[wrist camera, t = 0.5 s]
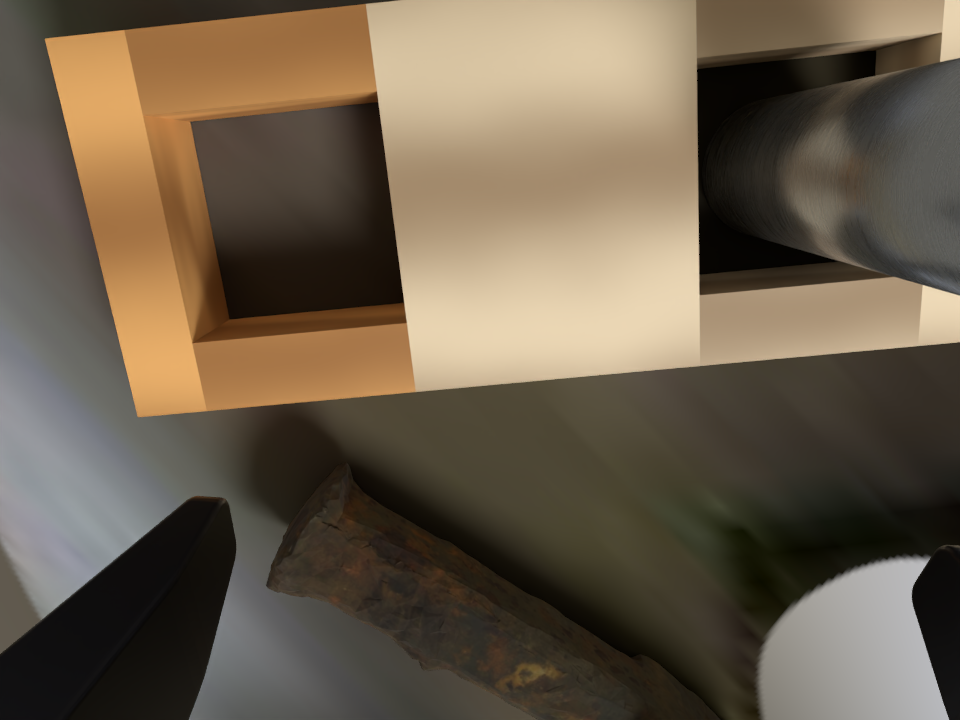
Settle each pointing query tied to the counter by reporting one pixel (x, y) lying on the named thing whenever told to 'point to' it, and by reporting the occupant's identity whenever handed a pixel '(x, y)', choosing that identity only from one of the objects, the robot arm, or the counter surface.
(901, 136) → the steel peg
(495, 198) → the rail board
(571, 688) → the brown rough long piece
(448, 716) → the counter surface
